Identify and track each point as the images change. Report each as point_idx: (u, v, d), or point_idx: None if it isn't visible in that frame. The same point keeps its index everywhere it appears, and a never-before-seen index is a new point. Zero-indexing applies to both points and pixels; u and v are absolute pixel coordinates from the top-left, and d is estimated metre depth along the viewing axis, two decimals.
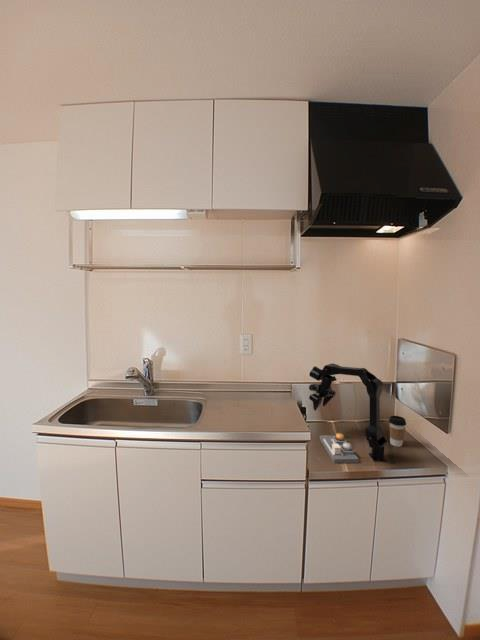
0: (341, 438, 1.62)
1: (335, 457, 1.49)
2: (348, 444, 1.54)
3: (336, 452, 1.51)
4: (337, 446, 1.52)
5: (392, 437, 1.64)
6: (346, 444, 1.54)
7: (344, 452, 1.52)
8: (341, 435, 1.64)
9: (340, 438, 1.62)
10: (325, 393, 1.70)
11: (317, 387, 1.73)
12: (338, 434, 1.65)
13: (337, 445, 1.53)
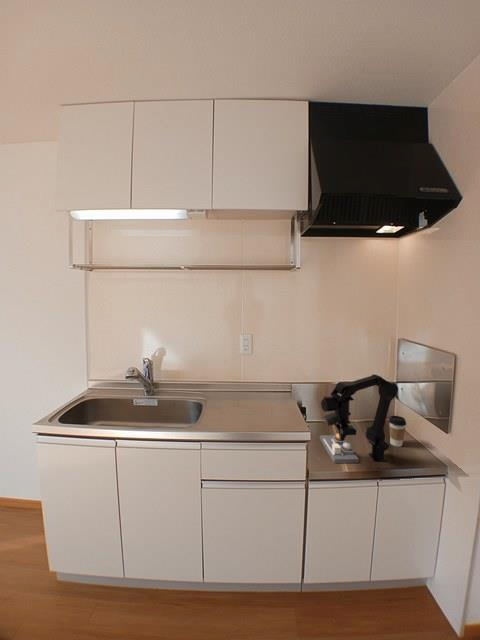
0: None
1: (335, 457, 1.49)
2: (348, 444, 1.54)
3: (336, 452, 1.51)
4: (337, 446, 1.52)
5: (392, 437, 1.64)
6: (346, 444, 1.54)
7: (344, 452, 1.52)
8: None
9: None
10: (348, 419, 1.43)
11: (338, 417, 1.42)
12: (338, 434, 1.65)
13: (337, 445, 1.53)
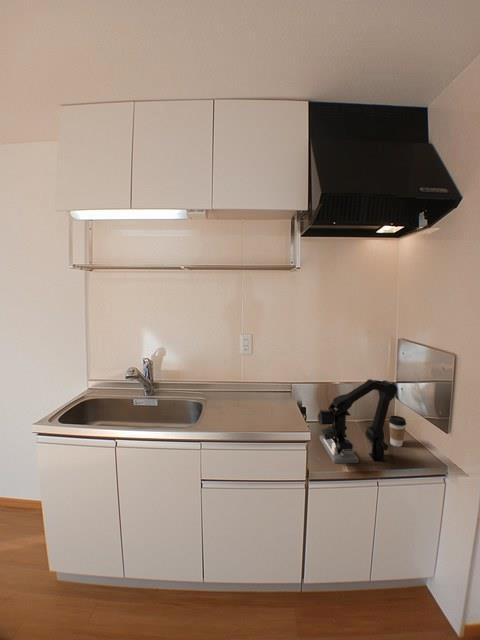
0: None
1: (335, 457, 1.49)
2: None
3: (336, 452, 1.52)
4: None
5: (392, 437, 1.64)
6: None
7: (344, 452, 1.52)
8: None
9: None
10: None
11: (335, 431, 1.46)
12: None
13: None
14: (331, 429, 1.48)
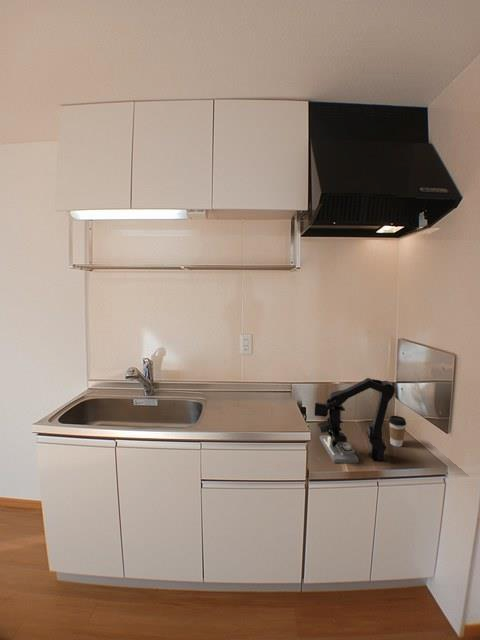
0: None
1: (335, 457, 1.49)
2: (348, 444, 1.54)
3: (331, 445, 1.59)
4: None
5: (392, 437, 1.64)
6: (346, 444, 1.54)
7: (344, 452, 1.52)
8: None
9: None
10: (339, 426, 1.54)
11: (330, 425, 1.53)
12: None
13: None
14: (326, 423, 1.55)
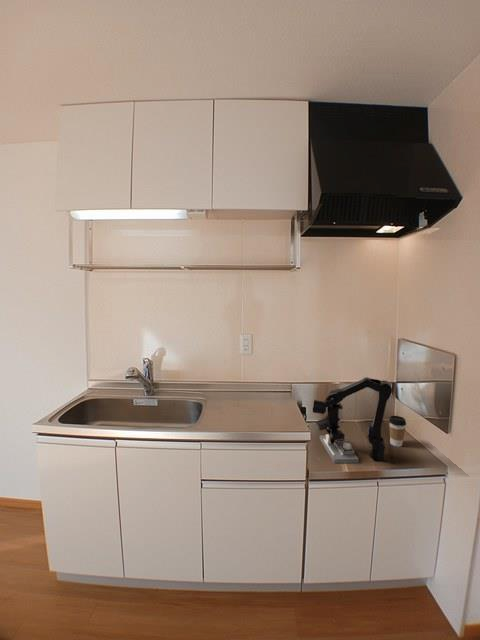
0: None
1: (335, 457, 1.49)
2: (348, 444, 1.54)
3: (329, 442, 1.61)
4: None
5: (392, 437, 1.64)
6: (346, 444, 1.54)
7: (344, 452, 1.52)
8: None
9: None
10: None
11: (328, 422, 1.56)
12: None
13: None
14: (325, 420, 1.58)
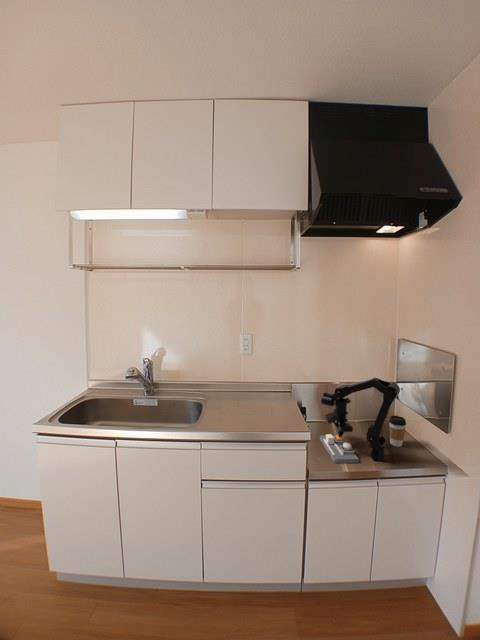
0: (341, 440, 1.63)
1: (335, 457, 1.49)
2: (348, 444, 1.54)
3: (329, 442, 1.61)
4: (330, 436, 1.62)
5: (392, 437, 1.64)
6: (346, 444, 1.54)
7: (344, 452, 1.52)
8: (341, 437, 1.64)
9: (340, 440, 1.63)
10: (345, 417, 1.61)
11: (336, 416, 1.60)
12: (338, 436, 1.65)
13: (330, 435, 1.63)
14: (333, 414, 1.62)
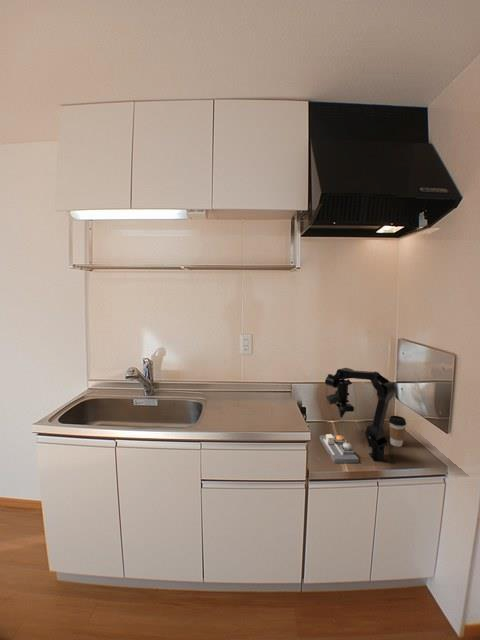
0: (341, 440, 1.63)
1: (335, 457, 1.49)
2: (348, 444, 1.54)
3: (329, 442, 1.61)
4: (330, 436, 1.62)
5: (392, 437, 1.64)
6: (346, 444, 1.54)
7: (344, 452, 1.52)
8: (341, 437, 1.64)
9: (340, 440, 1.63)
10: (347, 398, 1.67)
11: (338, 397, 1.66)
12: (338, 436, 1.65)
13: (330, 435, 1.63)
14: (335, 395, 1.68)
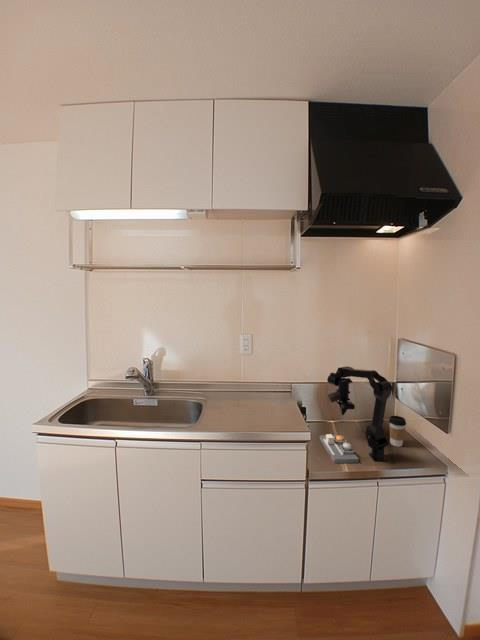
0: (341, 440, 1.63)
1: (335, 457, 1.49)
2: (348, 444, 1.54)
3: (329, 442, 1.61)
4: (330, 436, 1.62)
5: (392, 437, 1.64)
6: (346, 444, 1.54)
7: (344, 452, 1.52)
8: (341, 437, 1.64)
9: (340, 440, 1.63)
10: (348, 396, 1.70)
11: (339, 395, 1.69)
12: (338, 436, 1.65)
13: (330, 435, 1.63)
14: (336, 393, 1.71)
